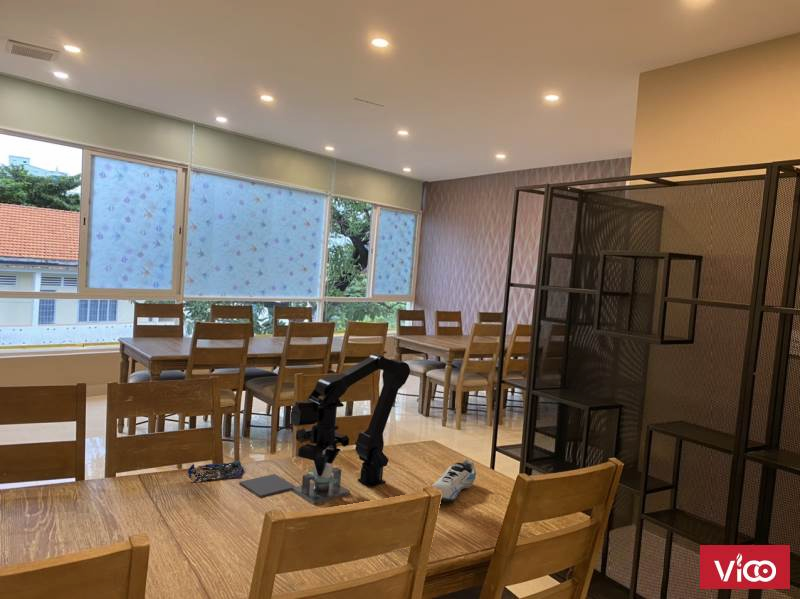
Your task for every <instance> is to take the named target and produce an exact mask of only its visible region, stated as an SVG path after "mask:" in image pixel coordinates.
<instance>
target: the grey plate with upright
mask: <svg viewBox="0 0 800 599" xmlns="http://www.w3.org/2000/svg"><path fill="white" fill-rule="evenodd" d="M332 475H333V478H337V479H338V482H337V483H335V484H334V483H330V482H328V483H317V482H314V481H312V479H315V476H313V475H311V474H307V473H306V474H303V475H302V480H301V485H299V486H296V487H293V488H292V490H291V492H293V493H294V494H296V495H297V496H299V497H301V498H302V499H304V500H306V501H307V502H309V503H311V504H313V505H316V504H320V503H323V502H327V501H330V500H333V499H337V498H340V497H345V496H348V495H351V490H349V489H347V488H346V487H344V486H342V485H341V481H342V480H341V478H342V469H340V468H339V467H332ZM311 481H312V482H311Z"/></svg>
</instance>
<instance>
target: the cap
mask: <svg viewBox="0 0 800 599" xmlns="http://www.w3.org/2000/svg"><path fill="white" fill-rule="evenodd" d="M312 466H313V469H312V471H308V472H307V473H306V475H307V474H311V475H313V476H315V479H312V480H311V481H312V482H317V483H328V482H330V483H334V484H335V483H337V482H338V479H337V478H333V473H332V468H333V463H332V464H331V463H326V465H325V468H324V471H323V474H322V476H318V474H317V470H316V466H315V463H314V462H313V465H312Z"/></svg>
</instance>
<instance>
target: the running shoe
mask: <svg viewBox="0 0 800 599" xmlns="http://www.w3.org/2000/svg"><path fill="white" fill-rule="evenodd" d="M476 475H477V473H476V467H475V464H474V461H472V460H470V459H467V458H465V459H463V461H462V462H455V463H454V464H453V465H450V466H448V468H447V469H446V470H445V471H444V472H443V474H442V475H441V476H440V478H439V479H438V480H436V481H435V482H434V483H433V484H432V485H431V486H434V487H436V488H438V489H439V490H441V491H442V500H441V501H444V502H451V503H452V502H455V501H456V498H457V496H458V495H459V493H460V492H461V490H463V489H469V488H471V487H472V486H473V485H474V481H475V479H476Z"/></svg>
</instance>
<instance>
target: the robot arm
mask: <svg viewBox="0 0 800 599" xmlns="http://www.w3.org/2000/svg"><path fill="white" fill-rule="evenodd" d="M378 370H381V371H382V376H381V377H382V384H383V385H382V388H381V391H380V394H379V397H378V399H377V403H376V405H375V407H374V411H373V413H372V416H371V420H370V421H369V425H368V427H367V429H366V430H365V431H364V432H362V431H360V432H359V433H358V435H357V438H356V439H357V440H356V441H355V442H354V445H355V451H356V454H357V455H358V458H359V460H360V461H362V464H361V467H360V478H357V481H358V482H359V483H362V484H363V485H366V486H367V487H370V488H374V487H376V486H379V485H383V484H386V480H384V479H383V476H384V475H383V474H384V467H387V466H388V463H389V458H388V457H387V455H385V454H384V453H383V450H384V445H385V441H384V431H385V428H386V427H387V423H388V420H389V417H390V414H391V411H392V410H393V405H394V403H395V400H396V398H397V397H396V396H397V394H398V392H399V390H400V389H401V388H402V387H403V386H404V385H405V384H406V382H407V380H408V378H409V377H410V374H411V368H410V365H409V364H408V363H407V362H406V361H401V360H398V359H393V358H391V359H389V358H387V357H385V356H383V355H380V354H377V353H373V354H371V355H369V357H367V358H365V359H364V360H362V361H360V362H358V363H357V364H355V365H353V366H351V367H349V368H348V369H346V370H344V371H342V372H340V373H337V374H331V375H328V376H325V377H322V378H320V379H319V380H317V381H316V384H315V387H314V389H313V390H312V392H311V393H310V394H309V396H308V397H307V399H306V400H305V401H302V400H297V401H295V405H294V406H292V409H291V411H290V421H291V423H292V424H293V426H294V427H300V426H308V425H312V426H311V428H308V429H305V428H300V429H297V430H296V432H295V439H296V441H297V442H299V443H300V444H303V443H305V442H309V443H306V444H304V445H301V446H300V447H299V448H298V449H297V457H299V458H303V459H306V460H310V461H313V464H314V463H315V466H316V470H317V474H318V476H322V474H323V471H324V468H325V465H326V463H331V464H333V463H334V461H335V459H336V458H337V457H338V454H339V453H340V452H341V450H342V449H341V448H339V447H338V445H337V444H339V443H340V444H341V446H342V447H343V448H345V447H347V446H349V444H350V437H349V436H348V435H347V434H344V433H338V432H336V431H337V430H339V425H338V424H337V413H338V411H337V410H338V408H342V407H344V406H345V404H344V403H343V402H342V401H341V400H340V398H341V397H342V396H344V395H345V394H346V393H347V391H348V389H349V388H350V387H351V386H353V385H355V384H356V383H357V382H360V381H361V380H363V379H365V378H366V377H368V376H370V375H372V374H373V373H375V372H376V371H378ZM321 398H322V399H321ZM314 444H315V445H314Z"/></svg>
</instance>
